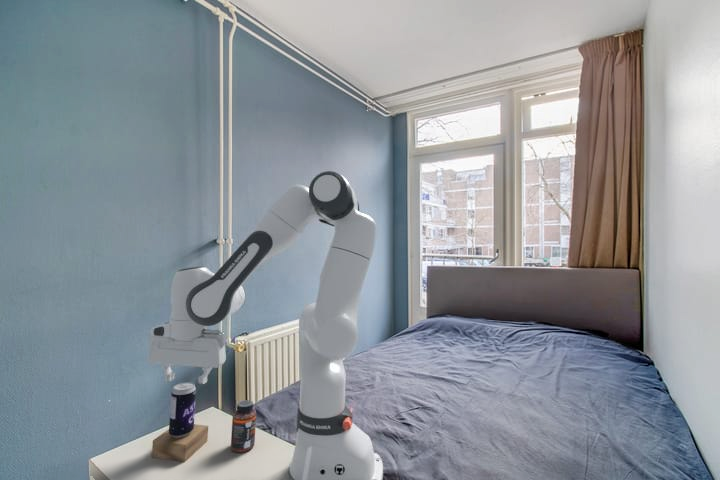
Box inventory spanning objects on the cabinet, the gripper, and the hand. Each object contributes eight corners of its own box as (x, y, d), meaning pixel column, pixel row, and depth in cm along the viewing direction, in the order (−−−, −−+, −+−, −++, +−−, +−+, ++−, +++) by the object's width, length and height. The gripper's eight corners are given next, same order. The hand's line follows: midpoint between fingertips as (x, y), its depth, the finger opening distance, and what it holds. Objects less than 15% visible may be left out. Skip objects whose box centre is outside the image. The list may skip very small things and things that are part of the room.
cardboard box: (207, 441, 87) (208, 425, 87) (184, 461, 78) (185, 444, 78) (177, 437, 88) (178, 422, 89) (151, 457, 80) (152, 440, 80)
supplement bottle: (254, 452, 83) (256, 407, 84) (229, 455, 81) (232, 409, 82) (254, 439, 89) (257, 397, 89) (231, 441, 87) (234, 399, 88)
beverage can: (182, 440, 80) (185, 391, 81) (163, 437, 81) (166, 388, 82) (198, 429, 86) (201, 383, 86) (180, 426, 87) (183, 380, 87)
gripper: (231, 327, 87) (229, 380, 86) (162, 323, 89) (160, 374, 89) (218, 333, 80) (215, 389, 80) (144, 328, 83) (141, 383, 82)
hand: (185, 381), depth 84 cm, fingers open, 8 cm apart
